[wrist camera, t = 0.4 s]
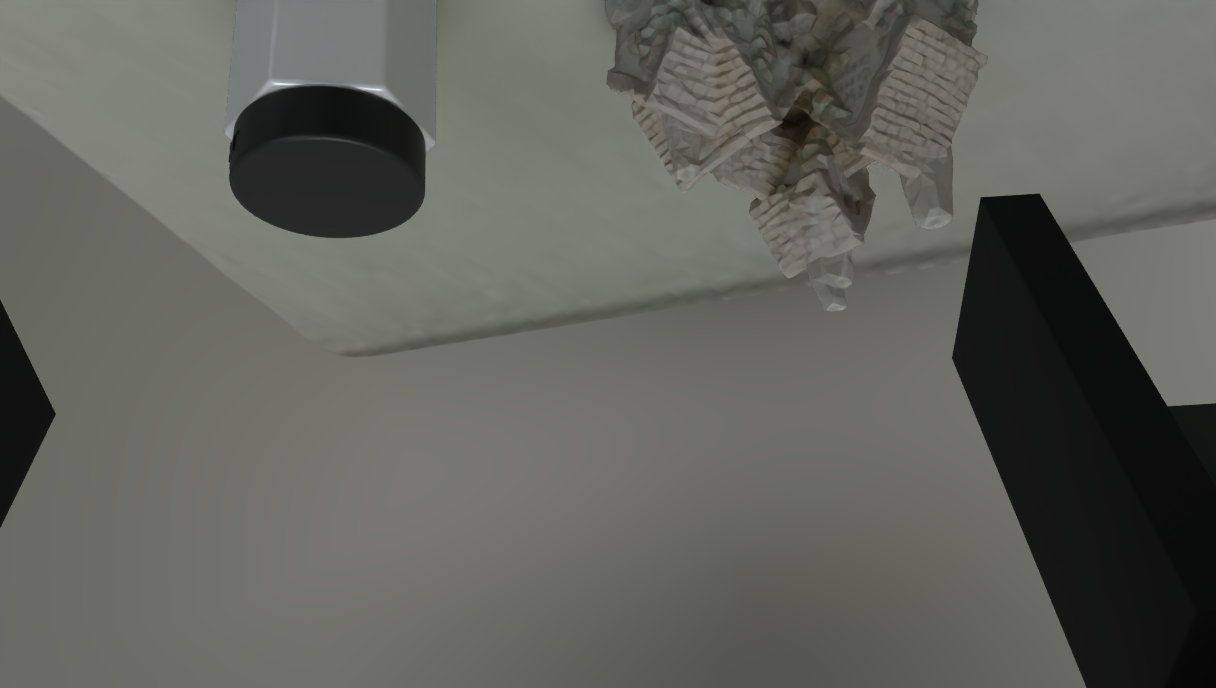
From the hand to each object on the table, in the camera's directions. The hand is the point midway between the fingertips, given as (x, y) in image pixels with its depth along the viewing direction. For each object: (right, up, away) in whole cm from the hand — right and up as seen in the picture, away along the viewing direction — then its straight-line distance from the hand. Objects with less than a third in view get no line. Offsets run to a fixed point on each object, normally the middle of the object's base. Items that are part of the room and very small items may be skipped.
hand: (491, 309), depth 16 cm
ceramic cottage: (+11, +17, +42) cm, 46 cm away
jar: (-11, +17, +39) cm, 43 cm away
